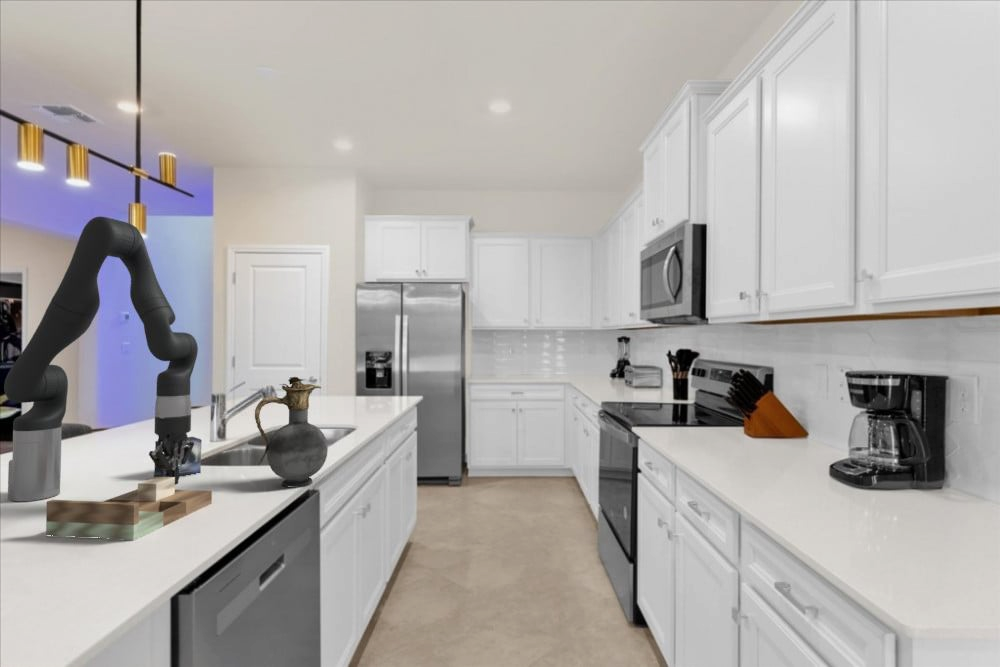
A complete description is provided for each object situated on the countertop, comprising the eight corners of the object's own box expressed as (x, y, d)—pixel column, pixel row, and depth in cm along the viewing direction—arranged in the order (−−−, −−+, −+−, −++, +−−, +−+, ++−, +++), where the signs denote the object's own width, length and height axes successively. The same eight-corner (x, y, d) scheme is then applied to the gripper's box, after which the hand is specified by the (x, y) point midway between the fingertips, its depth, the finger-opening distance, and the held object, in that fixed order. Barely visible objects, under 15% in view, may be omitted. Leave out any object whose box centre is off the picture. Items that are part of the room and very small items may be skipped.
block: (137, 500, 119) (137, 483, 119) (156, 493, 125) (157, 476, 125) (155, 501, 118) (156, 483, 118) (174, 493, 124) (174, 477, 124)
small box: (162, 480, 147) (162, 443, 147) (153, 477, 151) (153, 441, 151) (201, 473, 155) (202, 438, 156) (192, 470, 159) (192, 436, 160)
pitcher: (331, 484, 145) (333, 376, 145) (257, 495, 134) (259, 378, 134) (320, 475, 154) (321, 374, 154) (249, 485, 143) (251, 376, 143)
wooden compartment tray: (45, 536, 105) (46, 501, 105) (139, 500, 129) (139, 472, 129) (133, 540, 103) (134, 504, 103) (211, 503, 127) (212, 474, 127)
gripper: (177, 410, 134) (176, 477, 133) (137, 417, 121) (136, 492, 120) (205, 410, 133) (204, 478, 133) (168, 417, 120) (166, 493, 120)
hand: (171, 484), depth 126 cm, fingers closed
